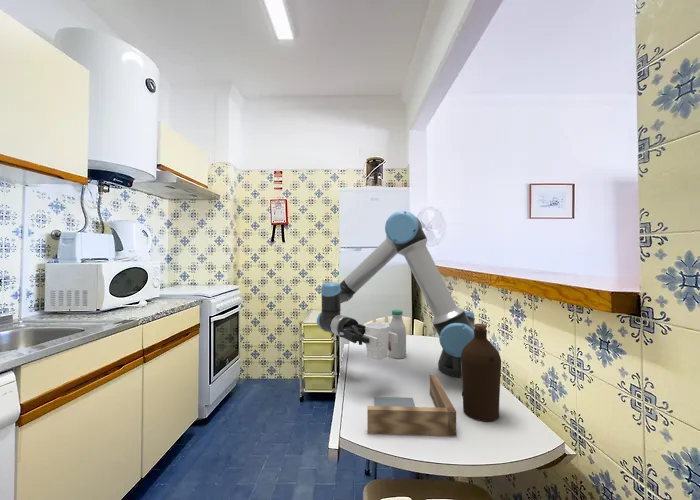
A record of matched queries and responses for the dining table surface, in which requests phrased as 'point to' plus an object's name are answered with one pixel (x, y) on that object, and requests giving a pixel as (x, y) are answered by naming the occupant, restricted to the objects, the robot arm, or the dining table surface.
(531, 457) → the dining table surface
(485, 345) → the brown bottle
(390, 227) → the robot arm
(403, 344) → the milk bottle
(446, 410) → the corner pen
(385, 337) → the white cup
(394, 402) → the slate mat
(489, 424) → the dining table surface
